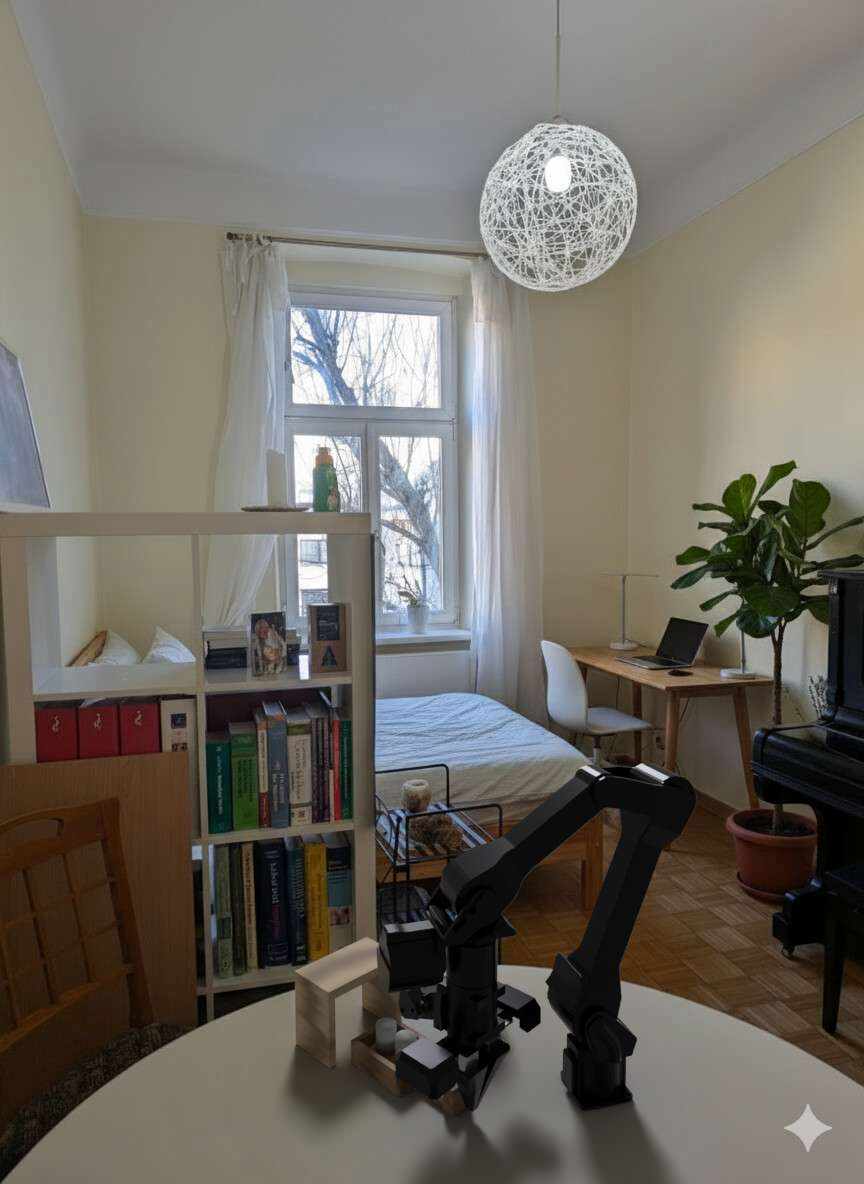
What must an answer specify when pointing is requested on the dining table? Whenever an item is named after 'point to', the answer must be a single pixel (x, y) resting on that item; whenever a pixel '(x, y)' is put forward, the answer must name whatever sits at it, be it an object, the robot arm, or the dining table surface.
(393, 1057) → the wooden box with handle
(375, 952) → the shelf
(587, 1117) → the dining table surface
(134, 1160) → the dining table surface
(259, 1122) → the dining table surface
